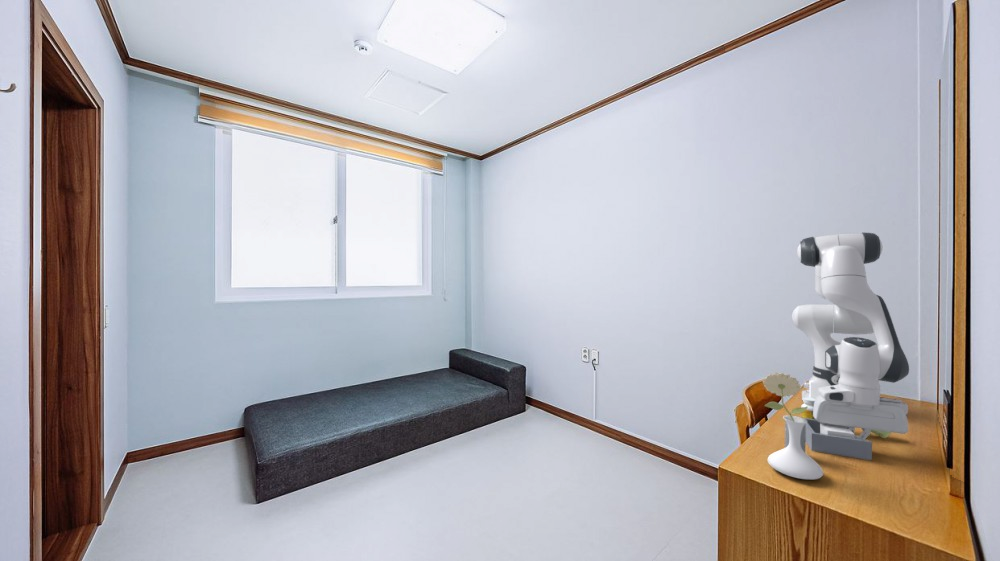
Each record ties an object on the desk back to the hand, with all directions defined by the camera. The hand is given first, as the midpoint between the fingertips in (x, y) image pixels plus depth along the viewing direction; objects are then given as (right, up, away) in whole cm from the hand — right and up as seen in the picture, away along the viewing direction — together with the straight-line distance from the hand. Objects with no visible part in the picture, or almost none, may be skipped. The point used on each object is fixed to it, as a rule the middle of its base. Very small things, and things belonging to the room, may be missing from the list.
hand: (857, 442), depth 111 cm
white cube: (-6, -2, 0) cm, 6 cm away
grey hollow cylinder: (-21, -2, -4) cm, 22 cm away
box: (-5, -2, +3) cm, 6 cm away
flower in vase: (-29, -3, -12) cm, 32 cm away
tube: (+16, 0, +7) cm, 18 cm away
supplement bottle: (-1, -2, +15) cm, 15 cm away
